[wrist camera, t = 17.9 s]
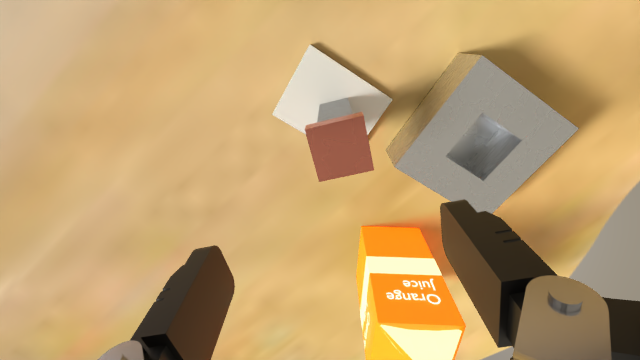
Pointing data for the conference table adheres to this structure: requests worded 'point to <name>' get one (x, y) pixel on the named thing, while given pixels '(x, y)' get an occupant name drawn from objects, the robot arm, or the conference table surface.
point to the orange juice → (404, 298)
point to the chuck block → (478, 135)
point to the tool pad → (327, 92)
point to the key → (339, 141)
